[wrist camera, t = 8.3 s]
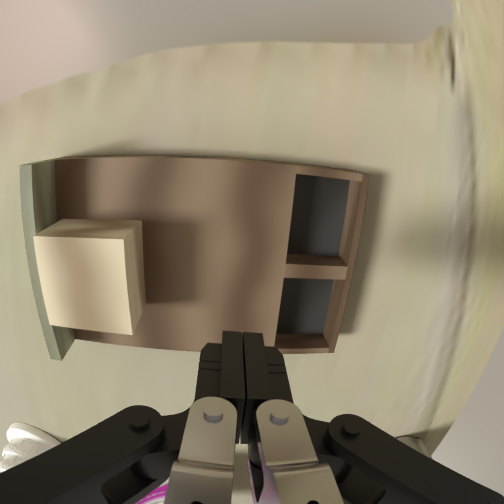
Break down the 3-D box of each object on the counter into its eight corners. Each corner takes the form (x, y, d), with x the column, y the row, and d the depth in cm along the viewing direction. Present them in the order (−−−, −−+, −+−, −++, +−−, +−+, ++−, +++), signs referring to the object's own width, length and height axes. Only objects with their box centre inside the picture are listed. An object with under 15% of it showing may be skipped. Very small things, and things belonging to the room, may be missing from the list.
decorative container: (45, 469, 34) (18, 551, 17) (-3, 423, 30) (-46, 508, 13) (92, 470, 33) (68, 570, 16) (39, 420, 29) (-7, 528, 12)
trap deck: (355, 171, 22) (390, 181, 17) (325, 335, 27) (344, 376, 21) (60, 157, 20) (19, 165, 15) (76, 321, 24) (50, 358, 19)
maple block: (142, 220, 20) (123, 239, 16) (146, 303, 22) (132, 335, 18) (62, 218, 19) (33, 236, 15) (72, 297, 21) (49, 324, 17)
